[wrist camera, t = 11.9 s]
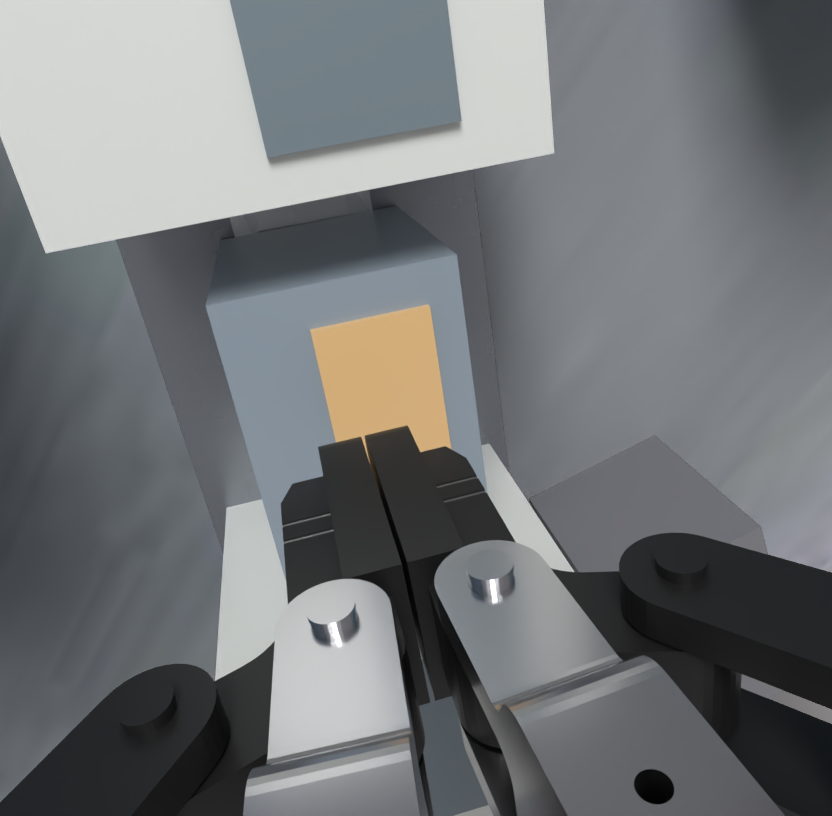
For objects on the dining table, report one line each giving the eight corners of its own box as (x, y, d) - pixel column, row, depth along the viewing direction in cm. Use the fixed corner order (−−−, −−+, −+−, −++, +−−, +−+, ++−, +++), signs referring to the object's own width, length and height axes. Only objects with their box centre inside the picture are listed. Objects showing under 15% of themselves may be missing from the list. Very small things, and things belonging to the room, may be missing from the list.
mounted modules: (406, -197, 15) (518, -408, 9) (510, 607, 24) (601, 790, 18) (4, -144, 14) (-205, -338, 8) (275, 671, 24) (283, 889, 17)
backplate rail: (410, -169, 17) (429, -202, 15) (505, 568, 26) (525, 605, 24) (16, -115, 16) (-16, -143, 14) (264, 633, 25) (265, 677, 23)
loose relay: (653, 434, 25) (764, 529, 20) (697, 570, 29) (803, 685, 23) (528, 497, 25) (604, 610, 20) (586, 627, 29) (666, 755, 23)
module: (397, 205, 18) (458, 256, 13) (430, 414, 21) (493, 531, 15) (214, 241, 18) (195, 310, 12) (271, 451, 20) (278, 586, 15)
